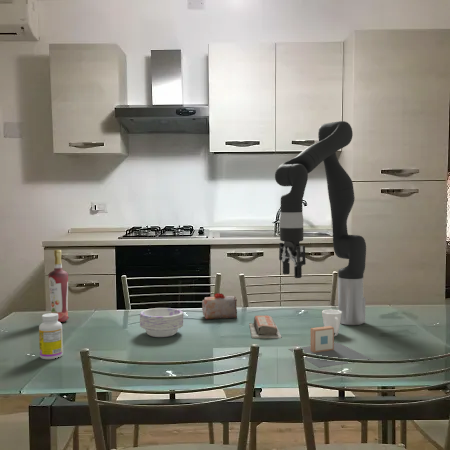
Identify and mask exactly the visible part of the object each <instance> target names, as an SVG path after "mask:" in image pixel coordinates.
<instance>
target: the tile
mask: <svg viewBox="0 0 450 450" xmlns="http://www.w3.org/2000/svg"><path fill="white" fill-rule="evenodd" d="M334 335H335V333H334V327H332V326H325V327H324V326H317V327H310V346H311V351H312V352H322V351H329V350H334V343H335V338H334V337H335V336H334Z"/></svg>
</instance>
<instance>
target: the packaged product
mask: <svg viewBox="0 0 450 450" xmlns="http://www.w3.org/2000/svg"><path fill="white" fill-rule="evenodd" d="M248 325H249V330H250V336H251V339H282V335H281V333H280V330H279V328H278V326H277V324H276V323H275V321H274V319H273V317H272V316H270V315H267V314H266V315H254V317H253V323H252V322H250V323H249V324H248Z"/></svg>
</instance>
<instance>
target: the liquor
mask: <svg viewBox="0 0 450 450" xmlns="http://www.w3.org/2000/svg"><path fill="white" fill-rule="evenodd" d="M53 253H54V254H53V255H54V265H53V266H54V267H53V268H54V270H52V271H50V272H49V273H48V286H49V287H48V288H49V297H50V298H49V299H50V313H57V314H58V317H59V318H58V322H60V323H61V322H64V323H65V321H66V322H67V321H68V320H69V318H70V317H69V315H68V313H69V312H68V311H69V310H68V297H69V273H68V271H66V270H64V269H63V265H62V249H54V250H53ZM61 324H62V323H61Z"/></svg>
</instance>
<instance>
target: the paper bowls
mask: <svg viewBox="0 0 450 450" xmlns="http://www.w3.org/2000/svg"><path fill="white" fill-rule="evenodd" d="M139 327H140V328H141V329H143V330H145V333H146V334H147V335H148V336H149V337H153V338H167V337H172V336H174V335H175V334H177V333H178V330H179V329H181V328H183V327H184V311H183V310H181V309H177V308H171V307H155V308H148V309H144V310H141V311H140V312H139Z"/></svg>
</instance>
